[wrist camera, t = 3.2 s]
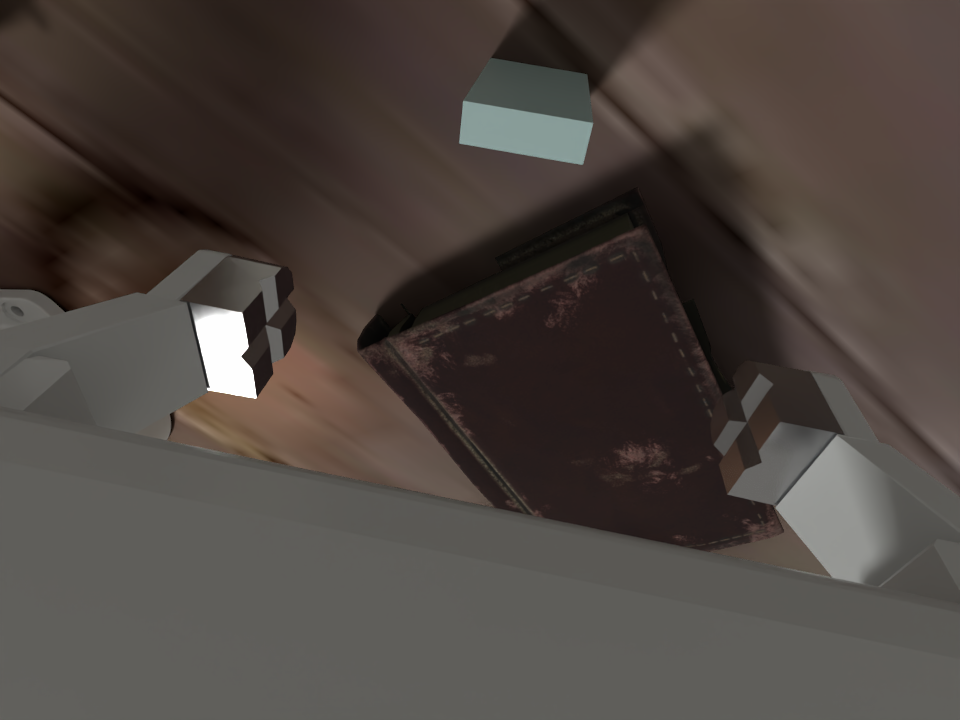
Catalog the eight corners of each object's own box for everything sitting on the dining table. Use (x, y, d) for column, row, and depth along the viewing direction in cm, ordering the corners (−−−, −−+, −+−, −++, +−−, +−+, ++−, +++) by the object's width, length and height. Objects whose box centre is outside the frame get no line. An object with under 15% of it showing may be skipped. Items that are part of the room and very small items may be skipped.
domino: (486, 91, 25) (459, 143, 19) (490, 57, 24) (463, 100, 18) (579, 107, 25) (583, 164, 19) (587, 74, 24) (593, 123, 18)
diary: (547, 527, 47) (544, 582, 43) (371, 312, 35) (345, 360, 31) (778, 477, 39) (800, 537, 35) (652, 175, 27) (664, 217, 23)
